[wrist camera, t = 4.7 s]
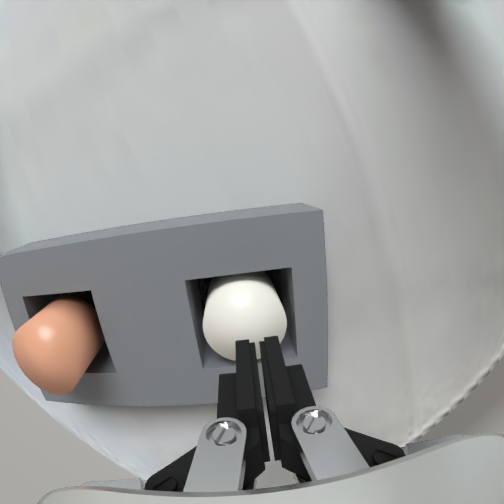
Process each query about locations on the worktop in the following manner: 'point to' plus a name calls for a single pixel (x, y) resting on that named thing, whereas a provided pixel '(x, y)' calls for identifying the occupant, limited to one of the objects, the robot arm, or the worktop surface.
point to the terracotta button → (59, 344)
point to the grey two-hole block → (175, 298)
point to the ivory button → (242, 312)
